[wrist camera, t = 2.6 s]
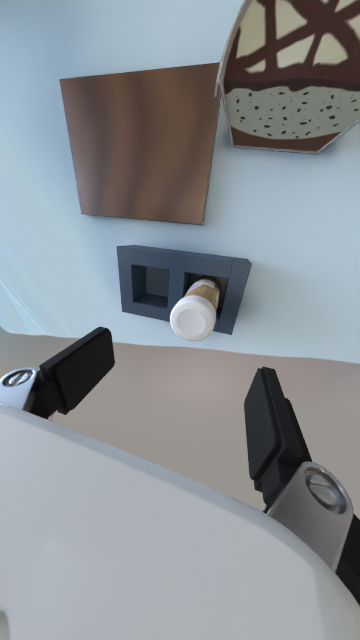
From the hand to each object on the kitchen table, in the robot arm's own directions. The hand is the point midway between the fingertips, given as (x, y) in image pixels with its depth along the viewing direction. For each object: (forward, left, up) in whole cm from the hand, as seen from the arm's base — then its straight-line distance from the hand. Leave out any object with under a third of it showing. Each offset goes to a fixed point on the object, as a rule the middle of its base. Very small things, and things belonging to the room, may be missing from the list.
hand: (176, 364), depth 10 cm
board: (-13, +16, -20) cm, 28 cm away
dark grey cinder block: (-5, 0, -20) cm, 20 cm away
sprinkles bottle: (0, 0, -20) cm, 20 cm away
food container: (+4, +20, -20) cm, 28 cm away
